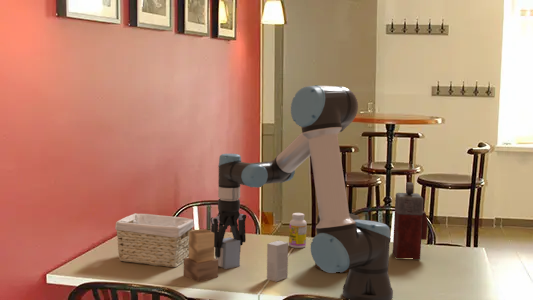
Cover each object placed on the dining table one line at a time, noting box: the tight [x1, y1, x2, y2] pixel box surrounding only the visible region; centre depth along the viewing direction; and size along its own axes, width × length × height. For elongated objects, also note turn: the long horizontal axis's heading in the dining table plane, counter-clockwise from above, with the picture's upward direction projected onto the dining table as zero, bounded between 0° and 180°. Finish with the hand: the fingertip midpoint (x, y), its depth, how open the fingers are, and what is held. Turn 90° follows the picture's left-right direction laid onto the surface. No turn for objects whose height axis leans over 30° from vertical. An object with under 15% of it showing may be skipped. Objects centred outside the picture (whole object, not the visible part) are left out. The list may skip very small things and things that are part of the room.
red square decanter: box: [392, 182, 429, 260], centre depth 251 cm, size 9×11×28 cm
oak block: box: [188, 228, 215, 263], centre depth 220 cm, size 6×6×9 cm
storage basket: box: [114, 212, 195, 268], centre depth 238 cm, size 24×16×15 cm
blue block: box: [215, 237, 241, 270], centre depth 233 cm, size 6×6×9 cm
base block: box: [183, 257, 219, 282], centre depth 221 cm, size 8×8×6 cm
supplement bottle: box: [288, 212, 308, 249], centre depth 262 cm, size 7×7×13 cm
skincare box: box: [266, 240, 289, 282], centre depth 220 cm, size 6×4×12 cm
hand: (227, 264), depth 234 cm, fingers closed on blue block, 6 cm apart
